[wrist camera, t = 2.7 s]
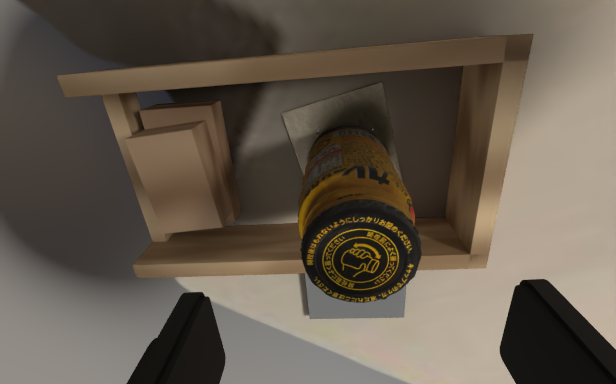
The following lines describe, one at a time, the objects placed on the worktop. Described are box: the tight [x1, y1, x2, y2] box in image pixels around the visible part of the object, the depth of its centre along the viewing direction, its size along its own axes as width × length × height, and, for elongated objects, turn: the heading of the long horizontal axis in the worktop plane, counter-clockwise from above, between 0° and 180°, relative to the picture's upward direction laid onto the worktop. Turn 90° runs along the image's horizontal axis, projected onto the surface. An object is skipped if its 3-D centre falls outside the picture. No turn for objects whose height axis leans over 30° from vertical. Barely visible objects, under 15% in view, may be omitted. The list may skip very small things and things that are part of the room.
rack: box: [57, 34, 533, 278], centre depth 22 cm, size 14×25×5 cm, turn 95°
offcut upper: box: [124, 120, 232, 234], centre depth 22 cm, size 7×4×2 cm, turn 9°
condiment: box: [282, 82, 422, 303], centre depth 18 cm, size 7×8×12 cm
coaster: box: [305, 273, 406, 319], centre depth 28 cm, size 9×9×1 cm
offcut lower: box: [139, 100, 241, 223], centre depth 24 cm, size 9×5×2 cm, turn 5°
